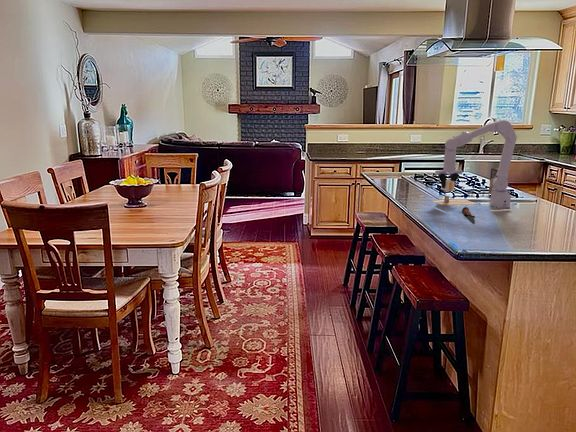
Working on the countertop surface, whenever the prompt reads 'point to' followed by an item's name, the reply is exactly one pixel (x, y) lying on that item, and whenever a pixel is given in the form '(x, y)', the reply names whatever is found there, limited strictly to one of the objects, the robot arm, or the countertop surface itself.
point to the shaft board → (453, 202)
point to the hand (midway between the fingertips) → (447, 187)
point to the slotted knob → (449, 185)
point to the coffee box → (493, 174)
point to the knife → (468, 215)
